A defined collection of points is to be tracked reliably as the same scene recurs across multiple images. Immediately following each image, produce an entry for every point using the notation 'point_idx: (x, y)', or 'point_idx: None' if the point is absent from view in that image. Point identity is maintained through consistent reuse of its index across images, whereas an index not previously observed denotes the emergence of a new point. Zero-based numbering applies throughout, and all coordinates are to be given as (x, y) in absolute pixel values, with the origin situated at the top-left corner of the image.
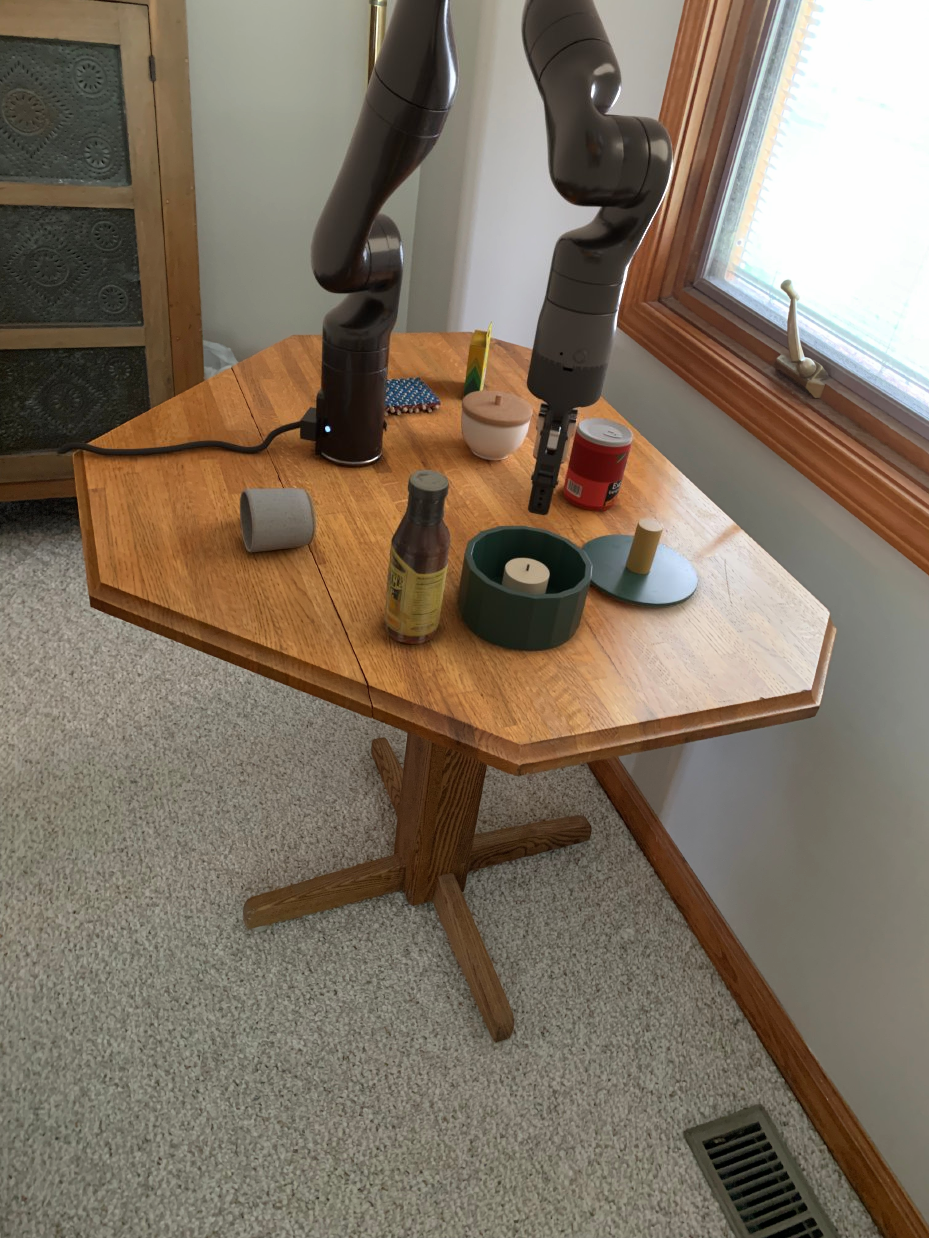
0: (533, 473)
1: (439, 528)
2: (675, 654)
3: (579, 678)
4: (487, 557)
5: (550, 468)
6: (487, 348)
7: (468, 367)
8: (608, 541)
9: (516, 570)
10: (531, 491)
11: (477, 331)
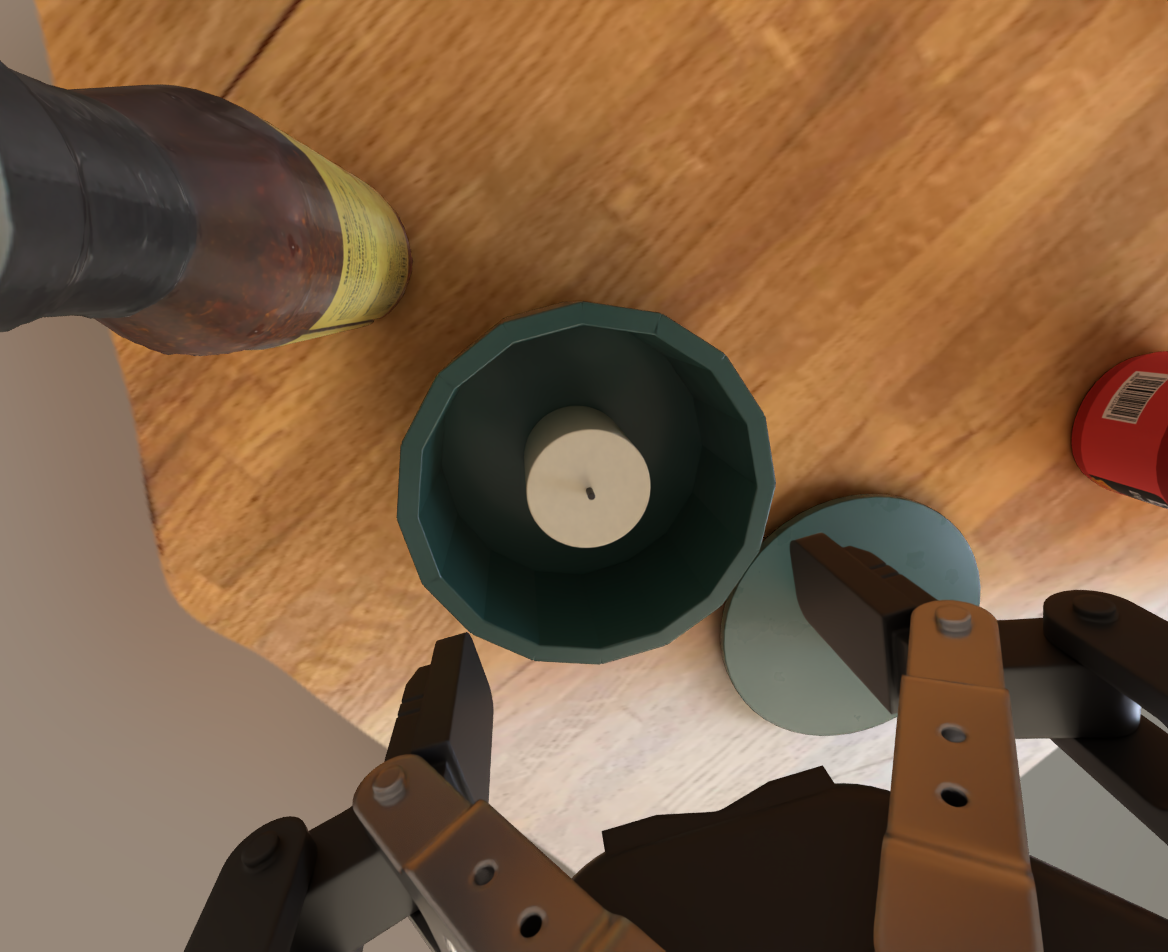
0: (382, 796)
1: (109, 319)
2: (617, 747)
3: (437, 636)
4: (650, 340)
5: (815, 611)
6: None
7: None
8: (930, 539)
9: (572, 465)
10: (421, 705)
11: None
